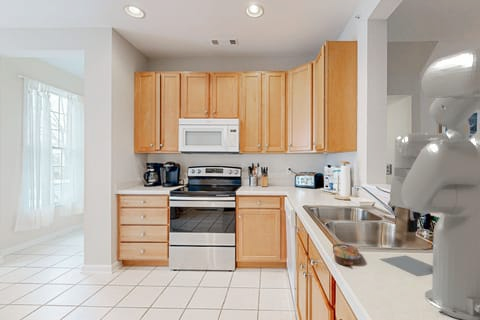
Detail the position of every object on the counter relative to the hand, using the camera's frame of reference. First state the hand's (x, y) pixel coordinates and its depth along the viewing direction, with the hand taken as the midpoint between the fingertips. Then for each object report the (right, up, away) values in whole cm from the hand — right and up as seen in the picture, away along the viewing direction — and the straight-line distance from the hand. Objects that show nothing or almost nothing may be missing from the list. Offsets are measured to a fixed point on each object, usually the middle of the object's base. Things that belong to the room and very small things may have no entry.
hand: (406, 229), depth 89 cm
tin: (-13, -11, +5) cm, 18 cm away
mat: (+1, -12, -1) cm, 12 cm away
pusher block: (0, -3, 0) cm, 3 cm away
